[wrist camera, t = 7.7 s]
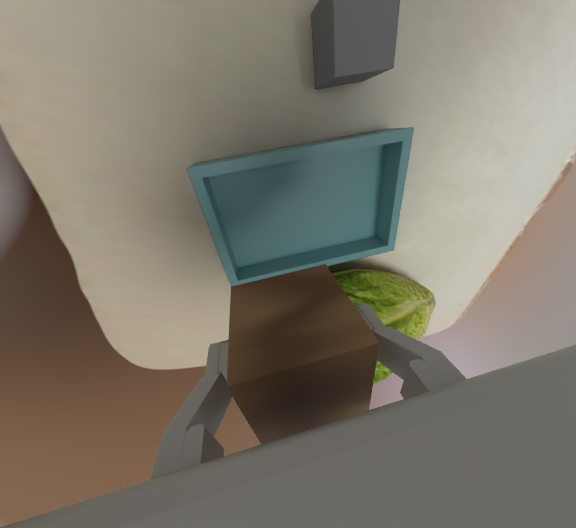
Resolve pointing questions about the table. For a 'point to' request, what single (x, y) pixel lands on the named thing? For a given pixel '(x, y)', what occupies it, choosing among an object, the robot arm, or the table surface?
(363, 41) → the charcoal block
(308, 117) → the table surface
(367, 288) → the lettuce
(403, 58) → the table surface
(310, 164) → the teal tray
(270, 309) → the walnut block
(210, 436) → the robot arm
